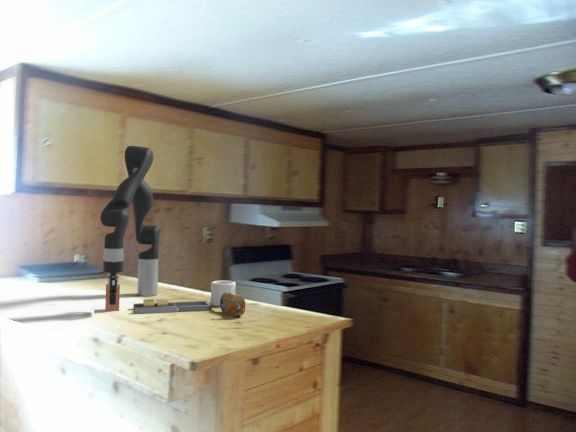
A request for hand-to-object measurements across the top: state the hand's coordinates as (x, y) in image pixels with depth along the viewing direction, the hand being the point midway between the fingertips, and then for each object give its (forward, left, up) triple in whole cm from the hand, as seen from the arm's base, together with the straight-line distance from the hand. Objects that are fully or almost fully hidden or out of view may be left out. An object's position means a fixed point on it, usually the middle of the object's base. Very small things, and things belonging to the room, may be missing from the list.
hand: (112, 303), depth 192 cm
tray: (+4, +31, -4) cm, 31 cm away
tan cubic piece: (+4, +14, -3) cm, 14 cm away
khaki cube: (+4, +19, -3) cm, 19 cm away
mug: (-8, +47, -4) cm, 48 cm away
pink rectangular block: (0, 0, -4) cm, 4 cm away
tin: (+14, +45, -4) cm, 47 cm away
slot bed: (+4, +16, -4) cm, 17 cm away
